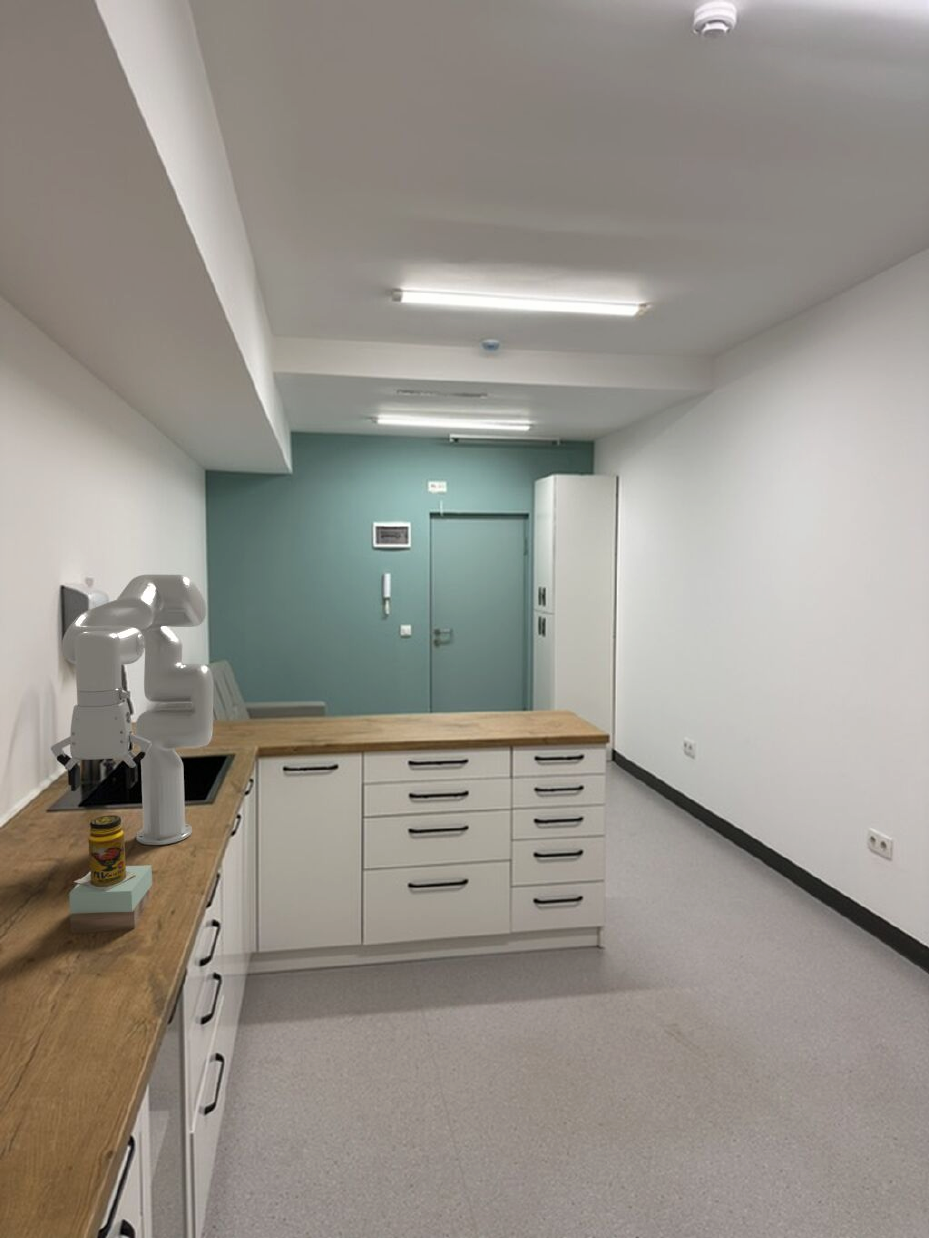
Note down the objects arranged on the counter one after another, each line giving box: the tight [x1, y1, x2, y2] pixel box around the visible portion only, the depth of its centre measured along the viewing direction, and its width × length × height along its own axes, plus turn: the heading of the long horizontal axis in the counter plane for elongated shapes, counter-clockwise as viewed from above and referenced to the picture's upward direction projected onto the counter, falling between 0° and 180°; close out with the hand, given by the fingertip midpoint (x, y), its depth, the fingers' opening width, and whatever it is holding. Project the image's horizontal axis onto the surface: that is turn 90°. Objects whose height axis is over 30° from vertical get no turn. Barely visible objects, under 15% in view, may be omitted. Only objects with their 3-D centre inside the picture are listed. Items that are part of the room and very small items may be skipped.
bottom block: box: [69, 889, 150, 934], centre depth 140 cm, size 11×11×4 cm
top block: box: [68, 864, 153, 915], centre depth 140 cm, size 11×11×4 cm
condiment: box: [73, 814, 136, 890], centre depth 139 cm, size 7×8×12 cm
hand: (103, 787), depth 137 cm, fingers open, 9 cm apart
